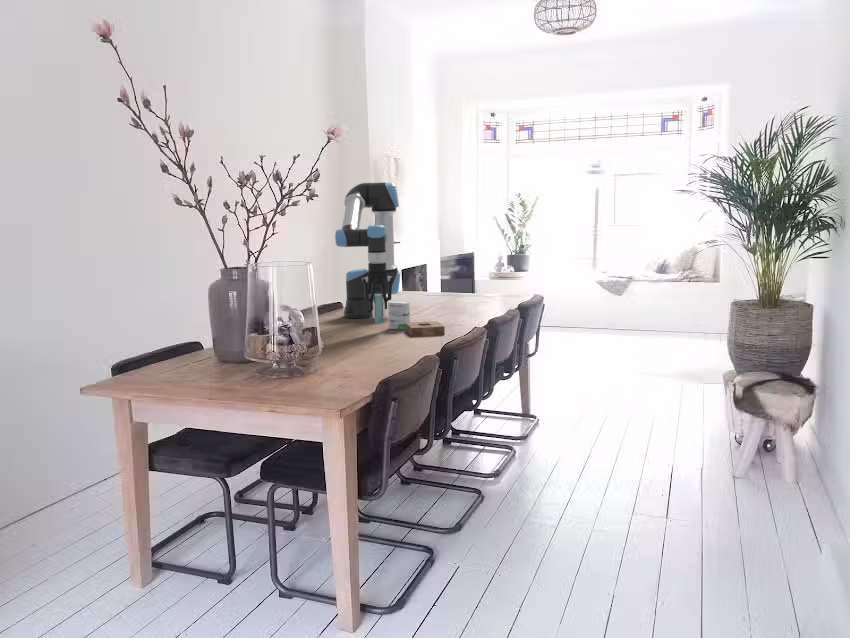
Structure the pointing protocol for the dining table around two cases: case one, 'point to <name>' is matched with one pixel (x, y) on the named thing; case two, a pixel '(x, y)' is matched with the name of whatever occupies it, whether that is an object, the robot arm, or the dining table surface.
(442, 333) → the socket
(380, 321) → the peg
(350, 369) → the dining table surface
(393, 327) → the ink box
